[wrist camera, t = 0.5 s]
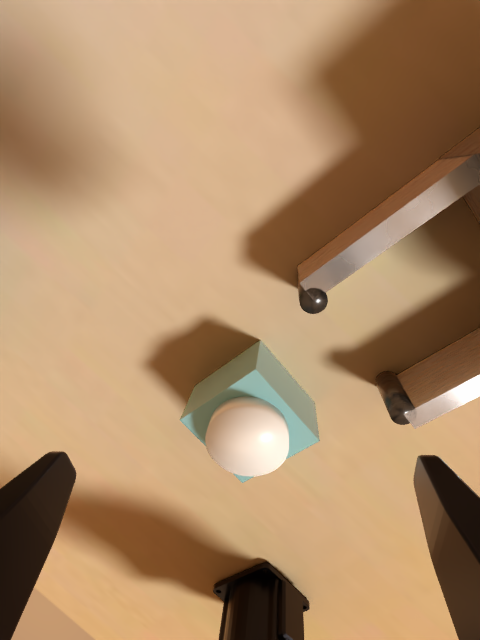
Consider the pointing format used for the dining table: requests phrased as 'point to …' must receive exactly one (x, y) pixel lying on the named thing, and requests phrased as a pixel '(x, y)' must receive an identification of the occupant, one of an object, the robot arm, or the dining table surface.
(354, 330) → the dining table surface
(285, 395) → the teal cube with ball
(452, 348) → the motor mount
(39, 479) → the robot arm
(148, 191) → the dining table surface
